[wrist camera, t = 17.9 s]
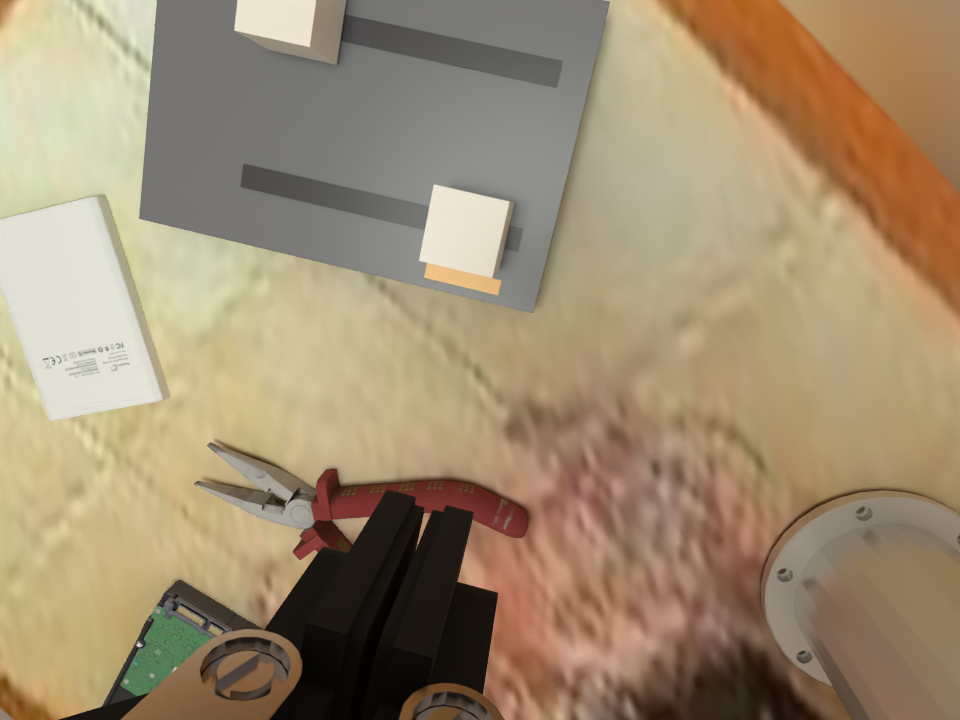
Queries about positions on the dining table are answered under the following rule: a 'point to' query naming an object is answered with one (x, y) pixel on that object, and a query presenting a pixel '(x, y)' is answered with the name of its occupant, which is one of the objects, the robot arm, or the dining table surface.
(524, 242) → the switch board
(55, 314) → the external hard drive
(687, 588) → the dining table surface
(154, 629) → the disk drive
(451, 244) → the tab
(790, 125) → the dining table surface
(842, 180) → the dining table surface
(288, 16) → the tab
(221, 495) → the pliers
